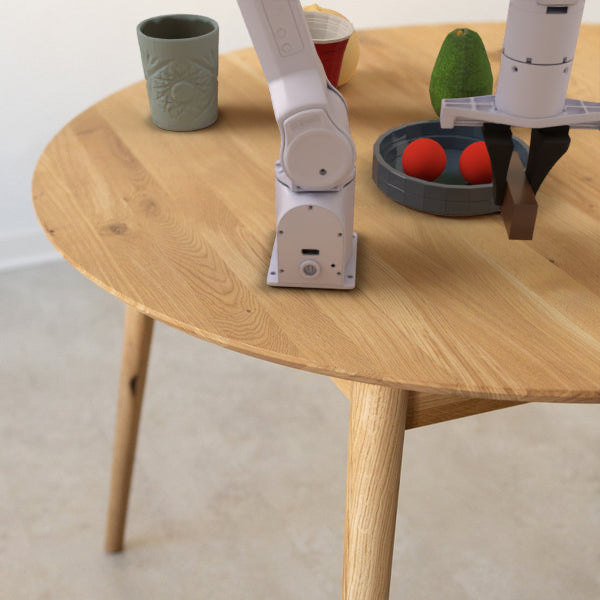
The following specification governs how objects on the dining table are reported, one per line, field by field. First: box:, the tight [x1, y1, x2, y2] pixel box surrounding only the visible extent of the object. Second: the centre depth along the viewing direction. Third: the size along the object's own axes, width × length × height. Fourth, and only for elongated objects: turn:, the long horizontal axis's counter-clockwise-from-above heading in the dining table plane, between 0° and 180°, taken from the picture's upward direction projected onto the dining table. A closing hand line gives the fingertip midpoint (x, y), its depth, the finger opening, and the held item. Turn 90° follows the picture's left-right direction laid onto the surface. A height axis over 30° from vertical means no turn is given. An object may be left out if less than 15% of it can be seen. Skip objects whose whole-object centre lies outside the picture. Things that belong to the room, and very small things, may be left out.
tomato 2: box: [459, 141, 493, 185], centre depth 84 cm, size 5×5×5 cm
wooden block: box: [492, 151, 539, 241], centre depth 71 cm, size 12×2×3 cm, turn 175°
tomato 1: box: [402, 138, 446, 182], centre depth 85 cm, size 5×5×5 cm
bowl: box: [371, 119, 530, 217], centre depth 86 cm, size 17×17×4 cm
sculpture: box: [302, 3, 360, 87], centre depth 109 cm, size 11×12×11 cm
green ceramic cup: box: [135, 13, 220, 132], centre depth 98 cm, size 10×10×12 cm
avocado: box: [428, 27, 494, 119], centre depth 97 cm, size 8×8×12 cm
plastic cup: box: [303, 11, 356, 90], centre depth 100 cm, size 11×11×12 cm
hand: (512, 201), depth 72 cm, fingers closed on wooden block, 2 cm apart
